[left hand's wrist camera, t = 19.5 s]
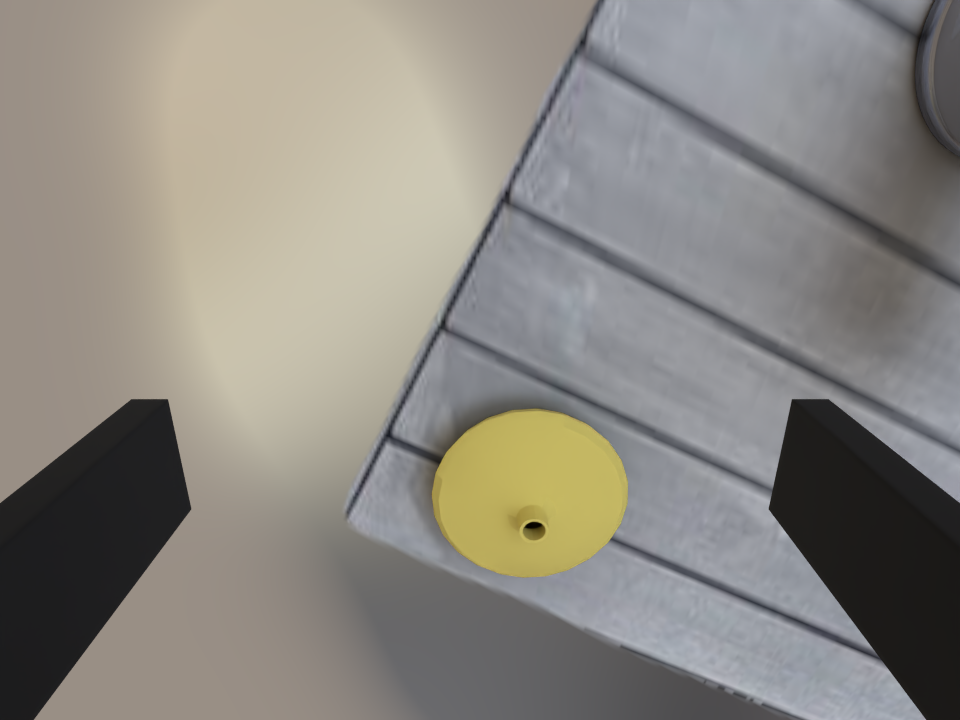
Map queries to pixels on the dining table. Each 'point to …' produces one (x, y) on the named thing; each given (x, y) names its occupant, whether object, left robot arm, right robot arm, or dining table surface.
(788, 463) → the left robot arm
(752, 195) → the dining table surface
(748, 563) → the dining table surface
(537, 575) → the vase
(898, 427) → the dining table surface
